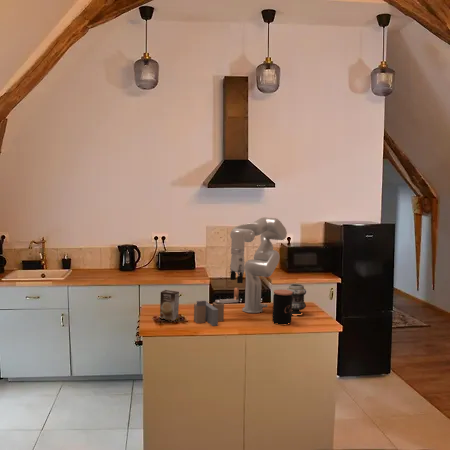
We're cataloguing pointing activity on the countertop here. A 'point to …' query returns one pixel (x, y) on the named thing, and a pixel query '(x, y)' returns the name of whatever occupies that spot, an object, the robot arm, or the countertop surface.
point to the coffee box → (169, 304)
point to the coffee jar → (282, 306)
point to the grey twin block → (208, 313)
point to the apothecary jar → (297, 297)
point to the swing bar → (236, 295)
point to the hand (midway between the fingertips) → (236, 281)
